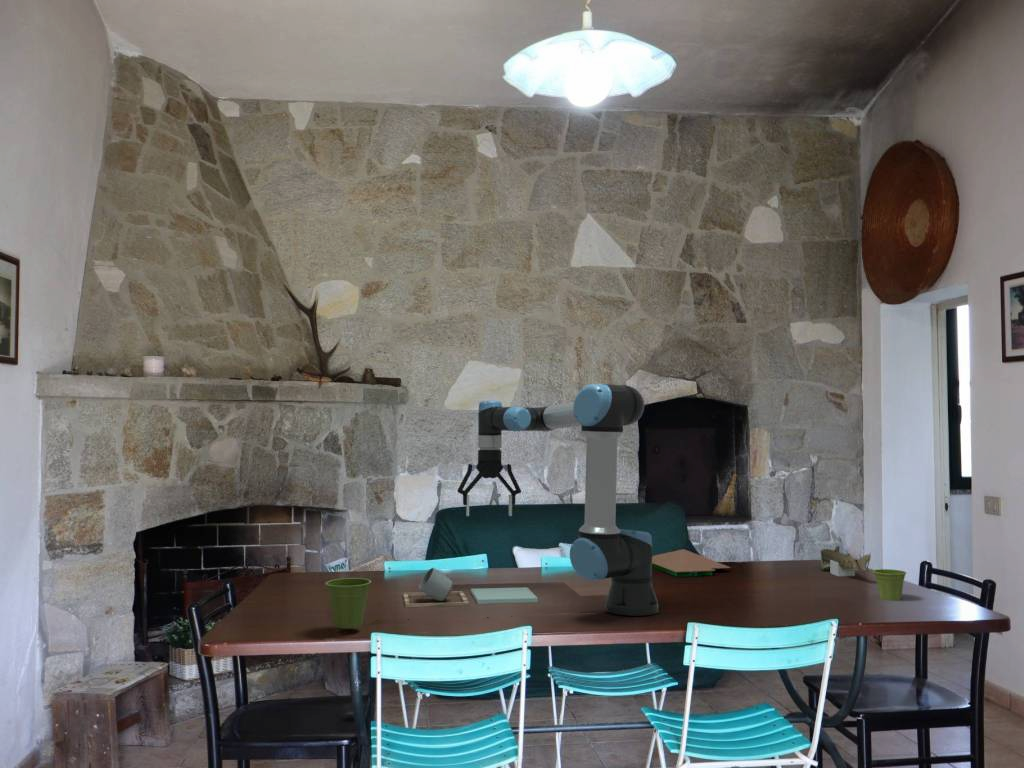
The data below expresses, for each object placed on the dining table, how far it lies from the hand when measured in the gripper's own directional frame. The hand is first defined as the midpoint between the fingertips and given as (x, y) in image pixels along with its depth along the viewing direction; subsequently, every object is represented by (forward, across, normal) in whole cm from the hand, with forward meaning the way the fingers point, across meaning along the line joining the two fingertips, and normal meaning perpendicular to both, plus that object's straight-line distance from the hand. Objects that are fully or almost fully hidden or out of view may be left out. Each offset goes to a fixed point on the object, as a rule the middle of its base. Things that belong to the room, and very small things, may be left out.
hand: (489, 515), depth 281 cm
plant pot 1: (+24, +41, +45) cm, 65 cm away
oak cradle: (+24, +17, +14) cm, 32 cm away
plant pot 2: (+23, -120, +26) cm, 125 cm away
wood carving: (+24, -125, -10) cm, 127 cm away
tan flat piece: (+24, -75, -32) cm, 85 cm away
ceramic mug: (+24, +17, +14) cm, 33 cm away
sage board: (+24, -4, +11) cm, 26 cm away
